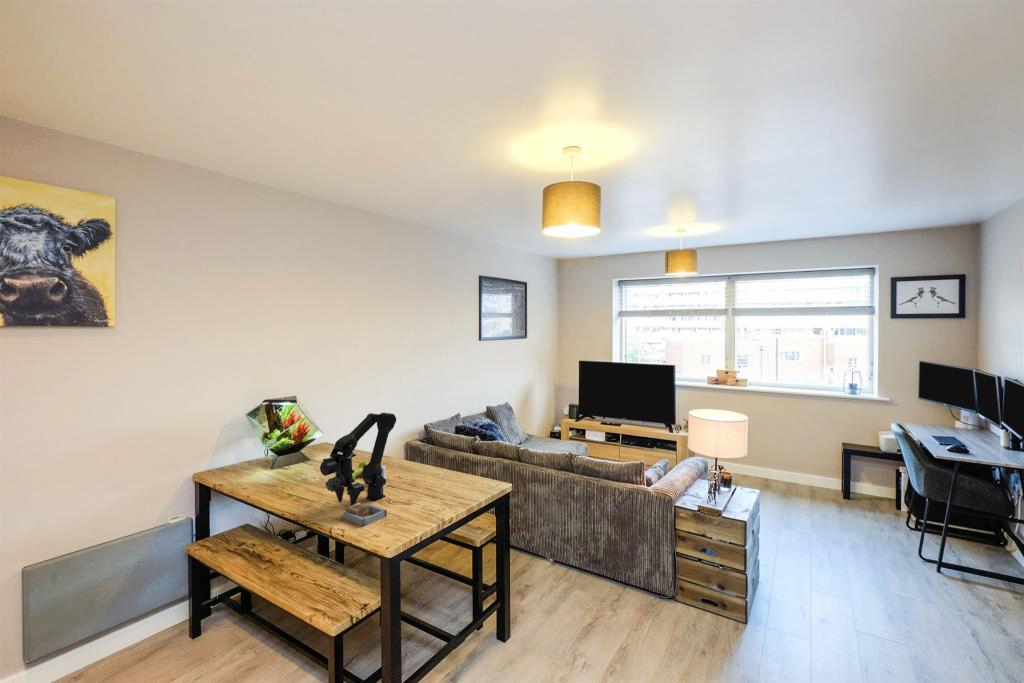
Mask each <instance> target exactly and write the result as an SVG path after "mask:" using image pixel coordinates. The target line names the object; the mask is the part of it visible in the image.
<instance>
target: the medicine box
mask: <svg viewBox="0 0 1024 683" xmlns="http://www.w3.org/2000/svg"><path fill="white" fill-rule="evenodd" d="M381 468H382V475H381V476H382V477H384V478H385V479H386V480H387V474H386V473H387V472H386V471H387V469H386V465H381Z"/></svg>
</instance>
